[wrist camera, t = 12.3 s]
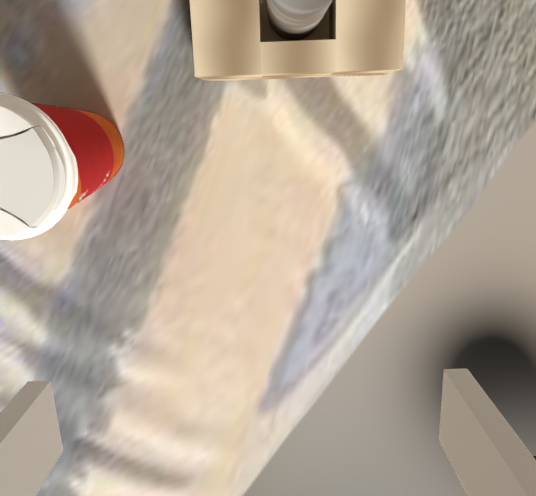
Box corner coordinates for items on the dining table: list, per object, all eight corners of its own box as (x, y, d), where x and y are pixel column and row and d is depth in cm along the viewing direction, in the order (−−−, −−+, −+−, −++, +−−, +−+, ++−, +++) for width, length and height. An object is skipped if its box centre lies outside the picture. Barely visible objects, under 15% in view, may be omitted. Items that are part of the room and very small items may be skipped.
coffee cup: (37, 190, 41) (-88, 234, 27) (40, 89, 39) (-96, 78, 25) (136, 205, 42) (64, 257, 27) (144, 106, 39) (71, 105, 25)
